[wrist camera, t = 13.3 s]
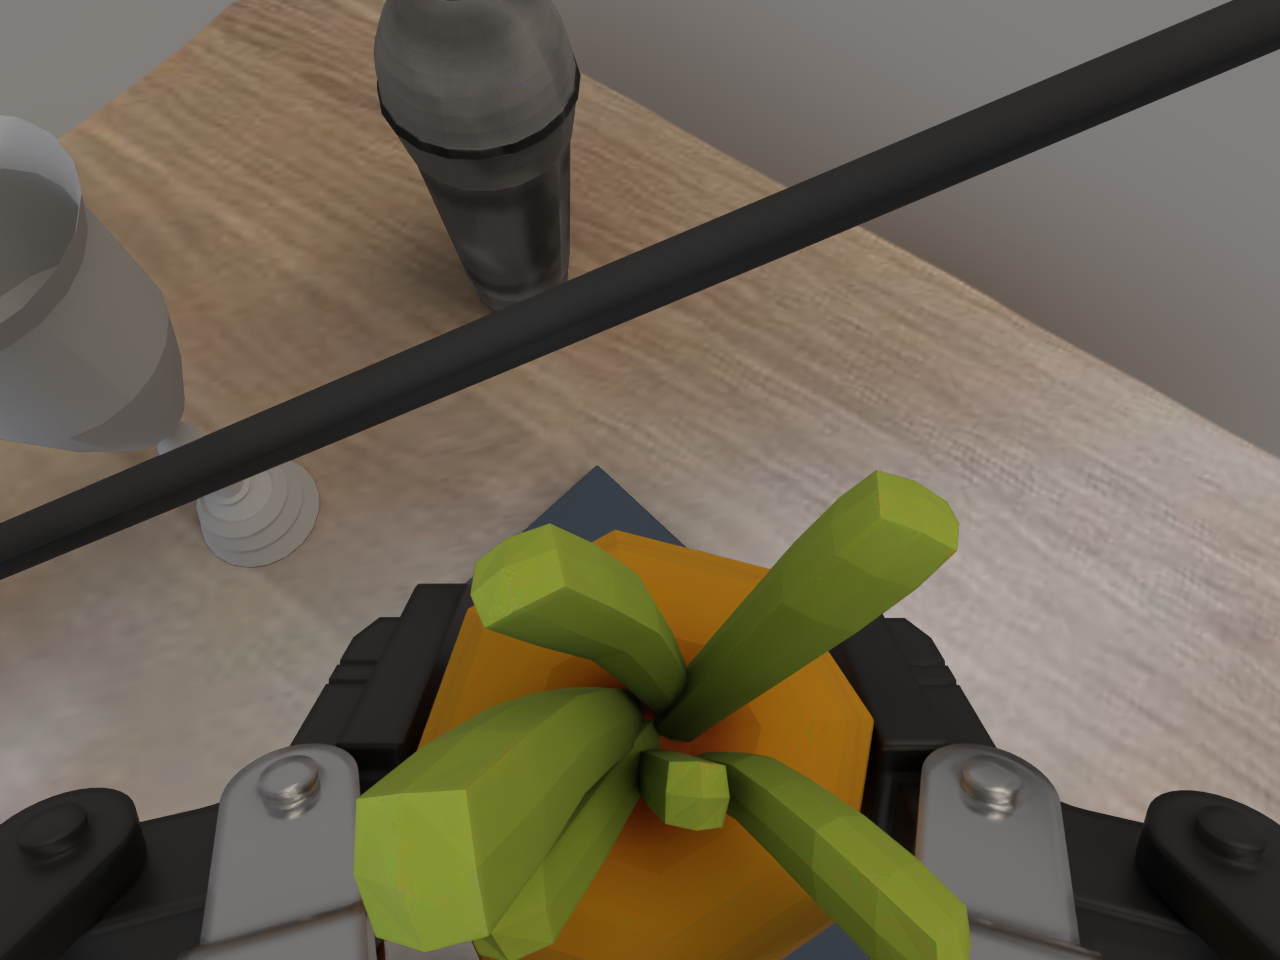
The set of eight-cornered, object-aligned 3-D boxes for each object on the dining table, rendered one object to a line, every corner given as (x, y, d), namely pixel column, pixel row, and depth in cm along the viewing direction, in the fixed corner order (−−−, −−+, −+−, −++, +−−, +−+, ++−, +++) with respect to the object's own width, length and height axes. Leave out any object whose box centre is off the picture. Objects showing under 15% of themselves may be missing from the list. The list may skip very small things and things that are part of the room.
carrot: (733, 667, 19) (978, 230, 5) (775, 907, 17) (1332, 1199, 3) (518, 696, 19) (187, 314, 5) (536, 943, 17) (78, 1414, 3)
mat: (361, 685, 33) (355, 682, 32) (598, 471, 36) (597, 464, 36) (736, 1121, 27) (739, 1129, 26) (971, 818, 31) (979, 818, 30)
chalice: (198, 433, 37) (-160, 112, 20) (350, 433, 37) (115, 111, 20) (162, 593, 34) (-289, 369, 18) (327, 592, 34) (30, 369, 18)
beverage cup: (476, 364, 38) (324, -66, 20) (426, 247, 41) (252, -228, 23) (620, 310, 40) (602, -144, 21) (563, 200, 42) (502, -289, 24)
